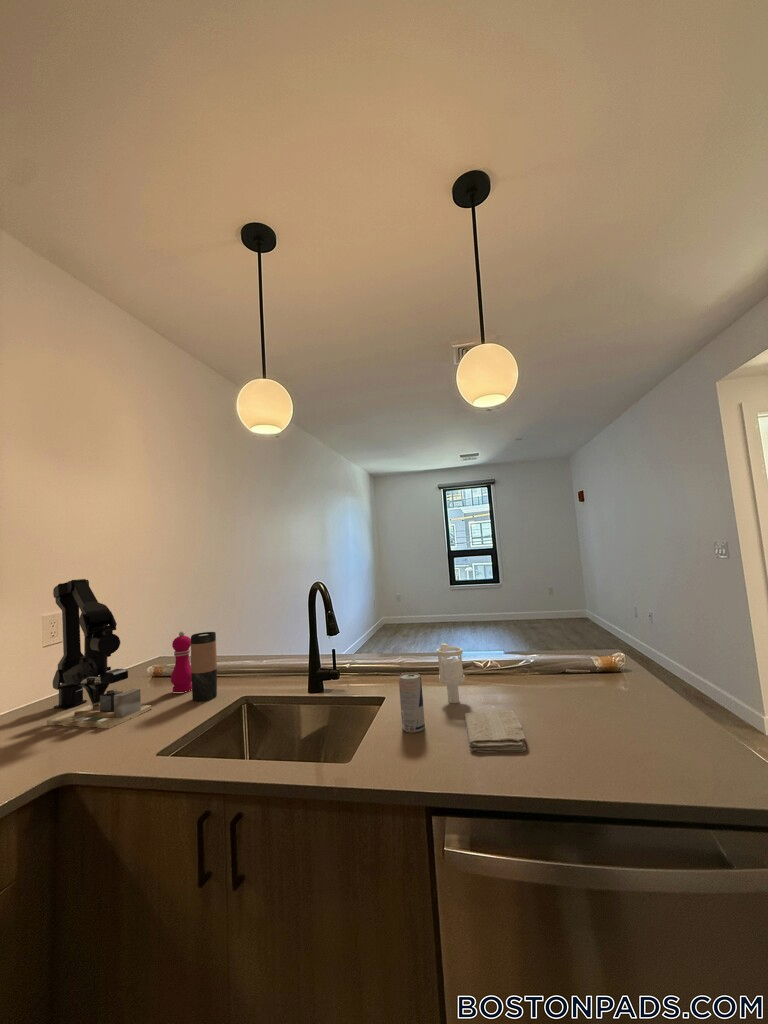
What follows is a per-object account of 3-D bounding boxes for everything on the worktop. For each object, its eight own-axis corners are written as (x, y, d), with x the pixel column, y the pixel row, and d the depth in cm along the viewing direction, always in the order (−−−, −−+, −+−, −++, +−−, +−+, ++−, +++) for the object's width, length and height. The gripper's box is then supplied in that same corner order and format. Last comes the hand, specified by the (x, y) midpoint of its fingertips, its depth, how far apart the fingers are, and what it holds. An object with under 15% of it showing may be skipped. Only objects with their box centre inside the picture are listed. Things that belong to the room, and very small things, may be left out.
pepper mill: (185, 694, 140) (183, 632, 142) (166, 694, 141) (165, 633, 143) (198, 687, 147) (197, 629, 149) (180, 687, 148) (179, 629, 150)
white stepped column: (456, 695, 120) (452, 641, 121) (472, 702, 113) (466, 645, 115) (435, 700, 117) (431, 645, 118) (450, 707, 110) (445, 649, 112)
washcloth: (470, 756, 85) (468, 740, 85) (463, 721, 102) (462, 708, 103) (530, 755, 83) (529, 738, 84) (513, 719, 101) (511, 706, 101)
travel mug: (223, 694, 136) (221, 631, 138) (203, 703, 129) (202, 636, 131) (205, 693, 139) (204, 631, 141) (186, 701, 132) (184, 636, 134)
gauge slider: (85, 720, 117) (86, 697, 117) (112, 709, 124) (112, 688, 125) (97, 720, 116) (97, 698, 116) (123, 709, 123) (123, 688, 124)
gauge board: (46, 725, 120) (47, 698, 120) (93, 707, 133) (93, 683, 134) (109, 728, 113) (109, 700, 114) (151, 709, 126) (151, 684, 127)
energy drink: (427, 724, 101) (423, 672, 102) (421, 734, 96) (417, 679, 97) (405, 723, 102) (402, 672, 104) (399, 732, 97) (395, 678, 99)
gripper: (44, 658, 120) (43, 715, 119) (94, 658, 115) (94, 717, 114) (82, 649, 131) (82, 701, 129) (129, 649, 126) (129, 703, 124)
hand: (95, 705), depth 124 cm, fingers closed
